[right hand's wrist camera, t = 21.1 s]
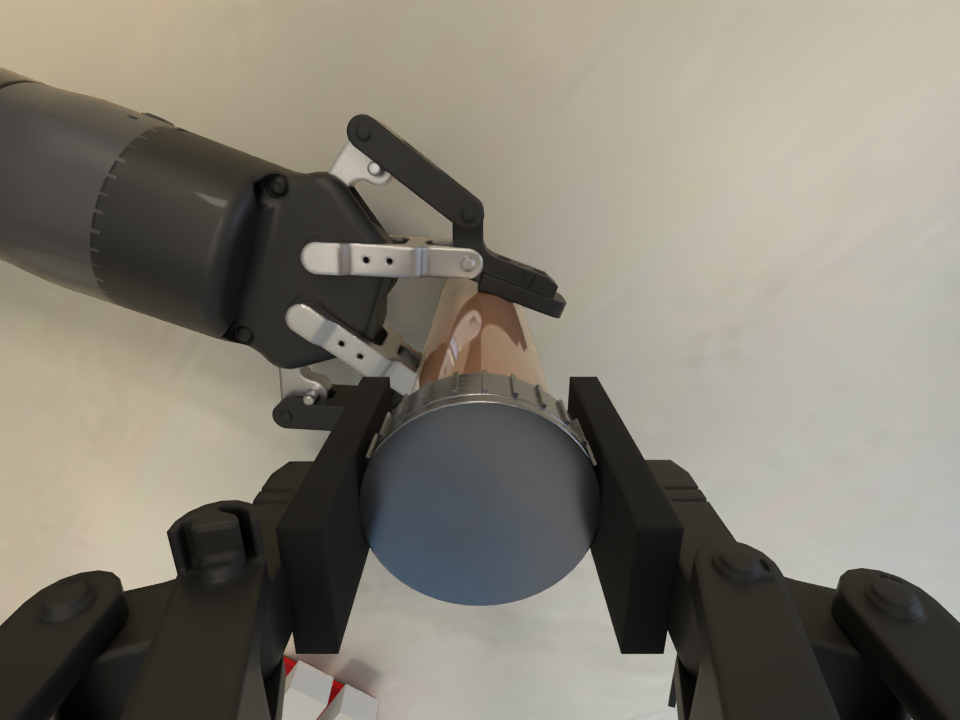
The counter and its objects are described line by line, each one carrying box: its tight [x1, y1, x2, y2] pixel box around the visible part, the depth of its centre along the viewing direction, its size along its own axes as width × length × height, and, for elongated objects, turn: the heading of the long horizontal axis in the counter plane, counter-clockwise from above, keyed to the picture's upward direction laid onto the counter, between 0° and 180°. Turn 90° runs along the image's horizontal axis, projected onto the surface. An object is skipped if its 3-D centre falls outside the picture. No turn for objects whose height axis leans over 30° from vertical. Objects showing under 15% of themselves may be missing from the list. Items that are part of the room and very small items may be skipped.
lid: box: [359, 370, 601, 606], centre depth 11 cm, size 5×5×2 cm
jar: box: [409, 278, 550, 395], centre depth 20 cm, size 4×4×18 cm
